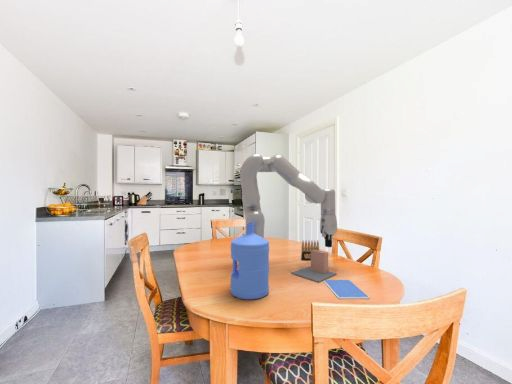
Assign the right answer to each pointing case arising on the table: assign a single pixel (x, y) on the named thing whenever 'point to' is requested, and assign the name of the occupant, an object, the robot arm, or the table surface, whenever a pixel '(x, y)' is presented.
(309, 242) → the ammunition clip
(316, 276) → the mat
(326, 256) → the brown rectangular block
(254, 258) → the water jug
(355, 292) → the blue notebook
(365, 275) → the table surface
